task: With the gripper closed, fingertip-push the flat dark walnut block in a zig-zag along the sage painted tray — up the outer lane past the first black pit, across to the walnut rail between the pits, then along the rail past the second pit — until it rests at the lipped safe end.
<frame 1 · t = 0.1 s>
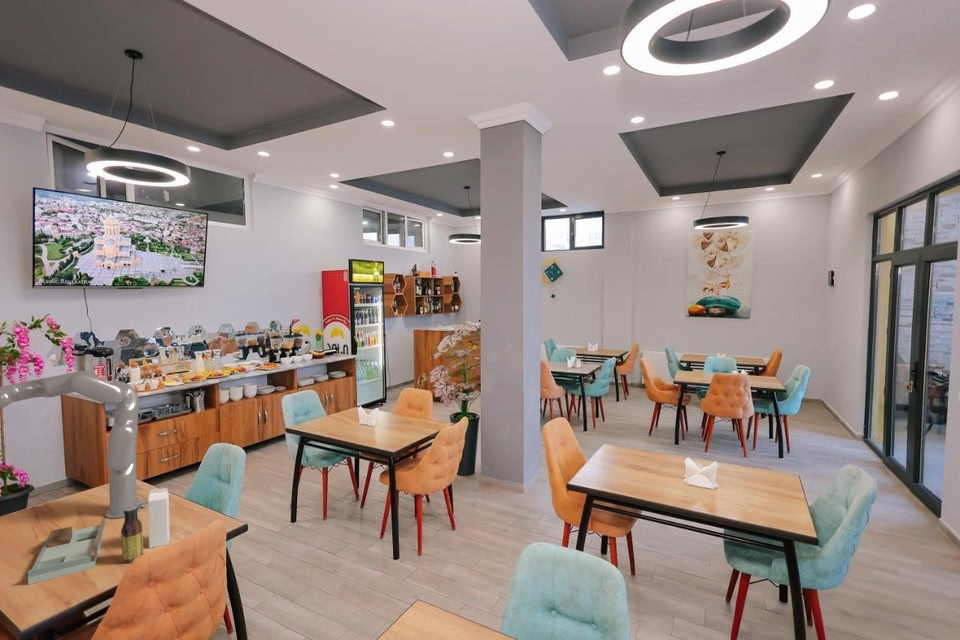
walnut block: (60, 541, 172), point 2 cm above the table, touching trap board
milk: (159, 543, 176), on the table
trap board: (70, 554, 168), on the table
sauce bottle: (132, 559, 165), on the table
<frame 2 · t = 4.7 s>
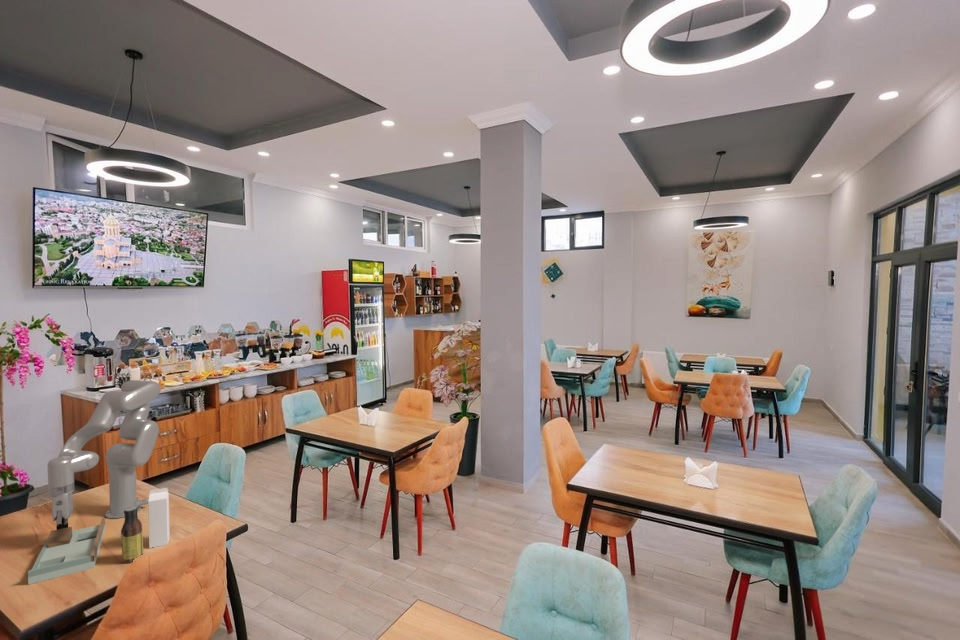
hand: (62, 534, 176), 3 cm above the table, fingers closed
walnut block: (60, 542, 171), point 2 cm above the table, touching gripper, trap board
everything else where it was.
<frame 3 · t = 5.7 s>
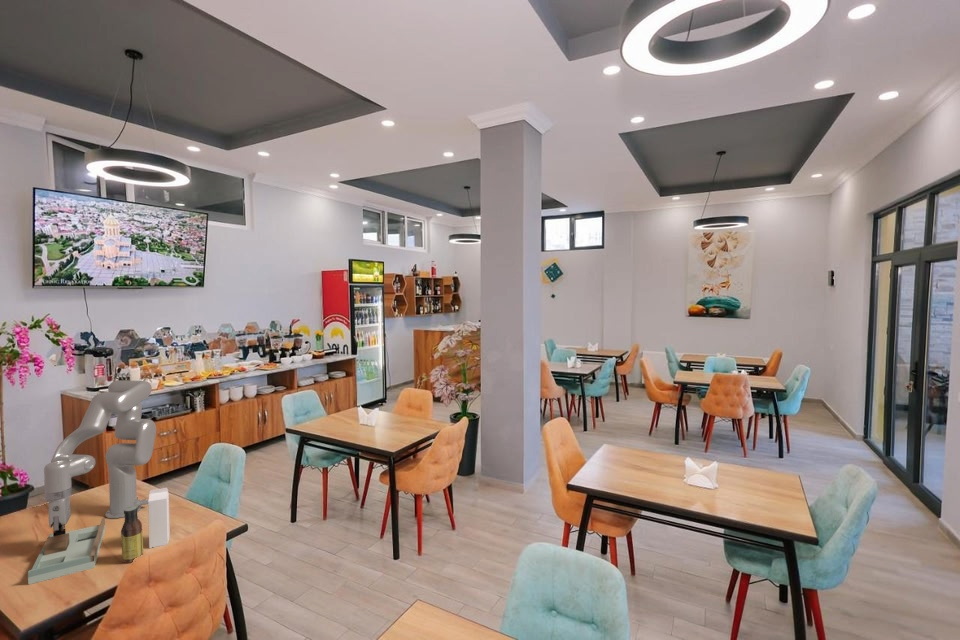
hand: (59, 540, 171), 3 cm above the table, fingers closed
walnut block: (57, 549, 167), point 2 cm above the table, touching gripper, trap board
everything else where it was.
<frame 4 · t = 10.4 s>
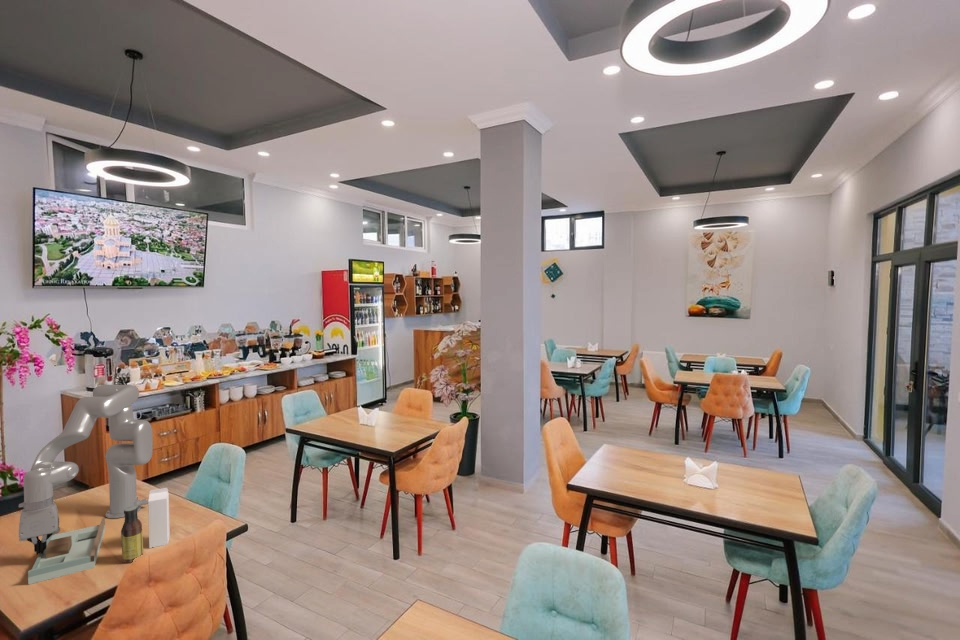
hand: (40, 552, 163), 4 cm above the table, fingers closed
walnut block: (59, 552, 165), point 3 cm above the table, touching gripper
everything else where it was.
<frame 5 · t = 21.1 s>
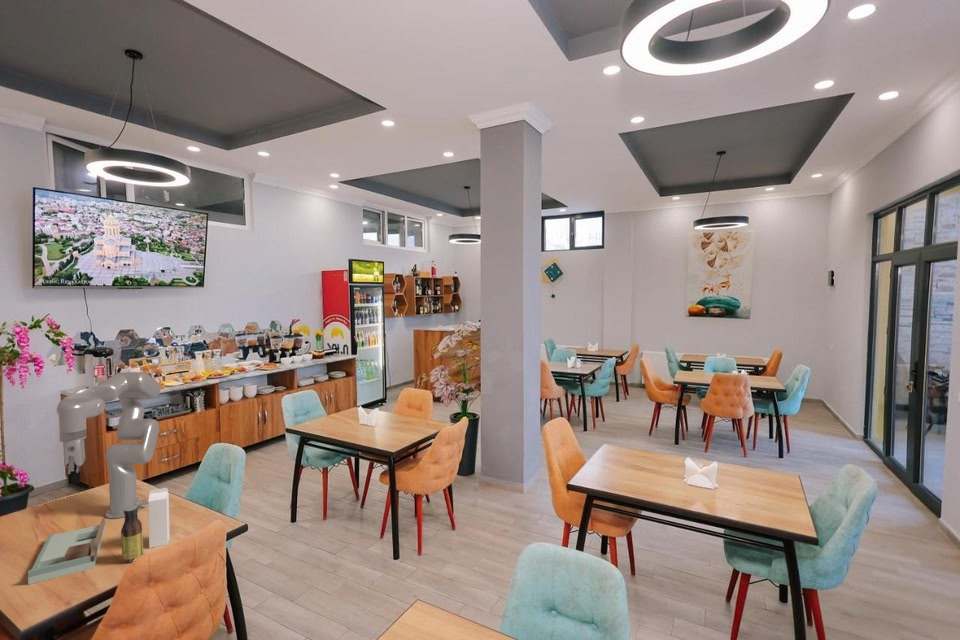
hand: (74, 482, 168), 27 cm above the table, fingers closed
walnut block: (78, 559, 160), point 2 cm above the table, touching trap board
everything else where it was.
at the end: walnut block inside the target area (0.7 cm from its centre), point 2.5 cm above the table; walnut block tilted 0° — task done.
